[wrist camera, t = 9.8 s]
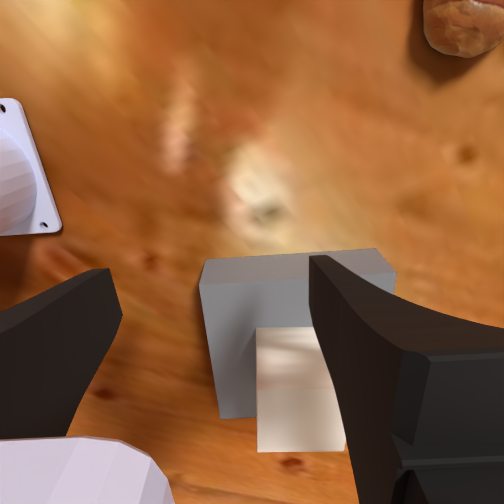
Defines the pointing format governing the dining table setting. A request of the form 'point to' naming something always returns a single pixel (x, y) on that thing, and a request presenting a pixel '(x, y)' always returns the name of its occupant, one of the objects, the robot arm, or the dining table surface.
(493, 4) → the pastry
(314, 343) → the cream block
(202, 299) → the gray panel
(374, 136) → the dining table surface
